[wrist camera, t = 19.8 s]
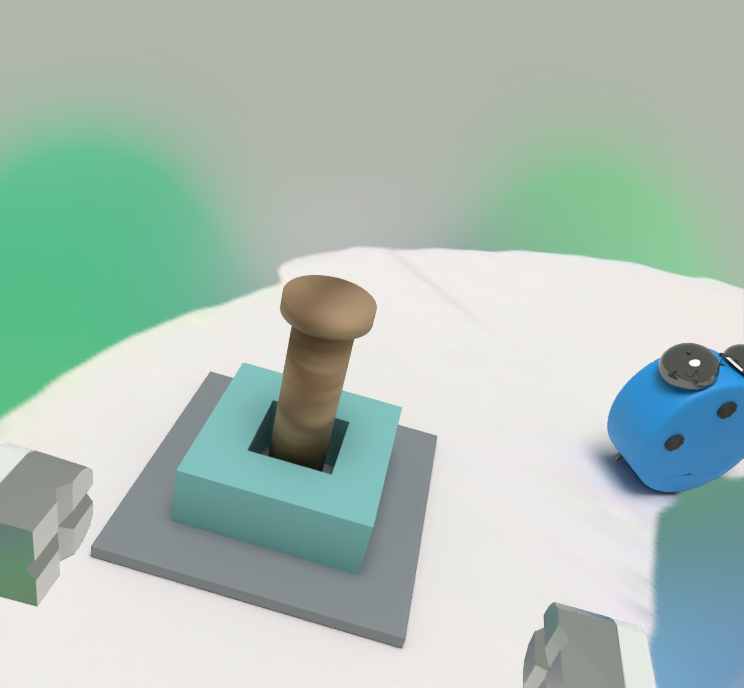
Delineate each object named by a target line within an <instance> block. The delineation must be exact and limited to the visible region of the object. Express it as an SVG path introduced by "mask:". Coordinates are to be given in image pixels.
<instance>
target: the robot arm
mask: <svg viewBox="0 0 744 688" xmlns="http://www.w3.org/2000/svg"><path fill="white" fill-rule="evenodd" d="M92 485H93V473H92V469H90V468H88V467H85V466H82V465H79V464H76V463H73V462H70V461H66V460H63V459H60V458H57V457H54V456H51V455H48V454H45V453H41V452H38V451H34V450H31V449H28V448H24V447H21V446H18V445H15V444H12V443H8V442H7V443H5V444H3V445H1V446H0V597H3V598H7V599H11V600H15V601H18V602H22V603H26V604H30V605H33V606H38V605H39V604H40V602H41V601H42V599H43V598H44V597H45V595H46V594H47V592H48V591H49V589H50V588H51V587H52V585H53V584H54V582H55V581H56V580H57V578H58V577H59V575H60V568H59V562H60V561H62V560H64V559H66V558H68V557H70V556H72V555H74V554H75V552H76V551H77V549H78V548H79V546H80V545H81V543H82V542H83V540H84V538H85V535H86V533H87V531H88V529H89V526H90V523H91V519H92V514H93V502H92V500H91V499H90V497H89V496H88V495H87V491H88V490H89V489H90V487H91V486H92ZM523 688H656V683H655V678H654V672H653V667H652V662H651V657H650V651H649V646H648V641H647V636H646V632H645V631H644V629H643V628H642V627H640V626H637V625H633V624H630V623H626V622H623V621H619V620H616V619H610V618H609V617H606V616H603V615H599V614H595V613H592V612H588V611H585V610H581V609H577V608H574V607H570V606H567V605H563V604H559V603H556V602H553V603H552V604H551V605H550V606H549V607H548V609H547V610H546V612H545V614H544V628H542V629H540V630H537V631H535V632H534V634H533V636H532V638H531V640H530V642H529V645H528V648H527V652H526V656H525V660H524V669H523Z"/></svg>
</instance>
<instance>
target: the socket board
mask: <svg viewBox="0 0 744 688" xmlns="http://www.w3.org/2000/svg"><path fill="white" fill-rule="evenodd" d="M282 377H283V374H282V373H279V372H275V371H272V370H268V369H265V368H261V367H257V366H254V365H250V364H247V363H243V364H242V365H241V367H240V368H239V370H238V372H237V373H236V375H235V376H234V378H231V377H228V376H224V375H221V374H217V373H214V372H210V373H209V374H208V376H207V377H206V379H205V380H204V382H203V383H202V385H201V386H200V388H199V389H198V390H197V392H196V393H195V395H194V396H193V398H192V399H191V401H190V402H189V404H188V405H187V407H186V408H185V410H184V411H183V412H182V414H181V415H180V417H179V418H178V420H177V421H176V423H175V424H174V426H173V427H172V429H171V430H170V431H169V433H168V434H167V436H166V437H165V439H164V440H163V442H162V443H161V445H160V446H159V448H158V449H157V451H156V452H155V453H154V455H153V456H152V458H151V459H150V461H149V462H148V464H147V465H146V467H145V468H144V470H143V471H142V472H141V474H140V475H139V477H138V478H137V480H136V481H135V483H134V484H133V486H132V487H131V489H130V490H129V492H128V493H127V494H126V496H125V497H124V499H123V500H122V502H121V503H120V505H119V506H118V508H117V509H116V511H115V512H114V513H113V515H112V516H111V518H110V519H109V521H108V522H107V524H106V525H105V527H104V528H103V530H102V531H101V533H100V534H99V535H98V537H97V538H96V540H95V541H94V543H93V544H92V546H91V556H92V557H95V558H99V559H102V560H106V561H109V562H112V563H116V564H119V565H122V566H126V567H129V568H133V569H136V570H139V571H143V572H146V573H149V574H153V575H156V576H160V577H163V578H166V579H170V580H173V581H176V582H180V583H183V584H187V585H190V586H193V587H197V588H200V589H204V590H207V591H210V592H214V593H217V594H220V595H224V596H227V597H231V598H234V599H237V600H241V601H244V602H247V603H251V604H254V605H258V606H261V607H264V608H268V609H271V610H274V611H278V612H281V613H285V614H288V615H291V616H295V617H298V618H302V619H305V620H308V621H312V622H315V623H318V624H322V625H325V626H329V627H332V628H335V629H339V630H342V631H345V632H349V633H352V634H356V635H359V636H362V637H366V638H369V639H372V640H376V641H379V642H383V643H386V644H389V645H393V646H396V647H400V648H402V646H403V644H404V641H405V637H406V631H407V624H408V618H409V612H410V605H411V599H412V593H413V586H414V580H415V574H416V567H417V561H418V555H419V548H420V542H421V536H422V529H423V523H424V517H425V510H426V504H427V498H428V491H429V485H430V479H431V472H432V466H433V460H434V453H435V447H436V441H437V436H436V435H432V434H429V433H425V432H422V431H418V430H415V429H411V428H408V427H404V426H401V425H398V422H399V418H400V414H401V410H402V407H399V406H395V405H392V404H388V403H385V402H381V401H378V400H374V399H371V398H367V397H364V396H360V395H357V394H353V393H349V392H346V391H342V392H341V396H340V400H339V404H338V409H337V413H336V417H335V421H334V425H333V430H332V434H331V438H330V442H329V446H328V450H327V455H326V459H325V463H324V467H323V471H322V472H321V471H317V470H314V469H310V468H307V467H303V466H300V465H296V464H293V463H289V462H286V461H282V460H279V459H275V458H272V457H268V454H269V449H270V443H271V438H272V432H273V427H274V421H275V416H276V410H277V405H278V399H279V394H280V388H281V383H282Z"/></svg>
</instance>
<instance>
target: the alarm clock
mask: <svg viewBox="0 0 744 688" xmlns="http://www.w3.org/2000/svg"><path fill="white" fill-rule="evenodd" d="M725 357H730V358H731V359H732V360H733V361H734V362H735V363H737V364H738V365H739V366H740V367H741V368H742V369H743V371H742V372H741V371H740V370H739V369H738V368H736V367H735V366H734V365H733V364H732V363H731V362H730V361H729V360H728V359H726V358H725ZM607 429H608V434H609V437H610V439H611V441H612V443H613V444H614V446H615V447H616V448H617V450H618V451H619V454H618V455H617V456H616V457H615V459H616V460H617V461H618V460H619V459H621V458H622V457H624V459H625V460H626V461H627V462H628V464H629V465H630V466H631V468H632V469H633V470H634V471H635V473H636V474H637V475H638V477H639V478H640V479H641V480H642V482H643V483H644V484H646V485H647V486H648V487H650V488H652V489H654V490H658V491H662V492H680V491H685V490H689V489H692V488H696V487H699V486H701V485H704V484H706V483H708V482H710V481H712V480H714V479H716V478H718V477H720V476H721V475H723V474H724V473H726V472H727V471H729V470H730V469H731V468H733V467H734V466H735V465H736V464H738V463H739V462H740V461H741V460H742V459H743V458H744V344H738V345H733V346H731V347H729V348H727V349H726V350H725V351H724V353H718V352H716V351H714V350H711V349H708V348H706V347H704V346H702V345H699V344H695V343H682V344H678V345H675V346H672V347H671V348H669V349H668V350H666V351H665V352H664V353H663V355H662V356H661V358H659V359H657V360H655V361H653V362H652V363H650V364H649V365H647V366H646V367H644V368H643V369H642V370H640V371H639V372H638V373H637V374H636V375H635V376H633V377H632V378H631V379H630V380H629V381H628V382H627V384H626V385H625V386H624V387H623V388H622V390H621V391H620V392H619V394H618V395H617V397H616V399H615V400H614V402H613V404H612V407H611V409H610V412H609V416H608V423H607Z"/></svg>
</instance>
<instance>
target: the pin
mask: <svg viewBox="0 0 744 688" xmlns="http://www.w3.org/2000/svg"><path fill="white" fill-rule="evenodd" d="M376 309H377V305H376V302H375V300H374V299H373V297H372V296H371V295H370V294H369V293H368V292H367V291H365V290H364V289H363V288H361V287H359V286H357V285H356V284H353V283H351V282H349V281H346V280H343V279H340V278H335V277H330V276H323V275H309V276H302V277H298V278H295V279H293V280H291V281H289V282H288V283H287V284H286V285H285V286H284V288H283V293H282V299H281V305H280V311H281V314H282V316H283V317H284V319H285V320H286V321H287V322H288V323H289V324H290V325H292V328H291V333H290V339H289V344H288V350H287V355H286V361H285V366H284V372H283V377H282V383H281V388H280V394H279V399H278V405H277V410H276V416H275V421H274V427H273V432H272V438H271V443H270V449H269V454H268V457H272V458H275V459H279V460H282V461H286V462H289V463H293V464H296V465H300V466H303V467H307V468H310V469H314V470H317V471H321V472H322V471H323V467H324V463H325V459H326V455H327V450H328V446H329V442H330V438H331V434H332V430H333V425H334V421H335V417H336V413H337V409H338V404H339V400H340V396H341V392H342V388H343V384H344V379H345V375H346V371H347V367H348V363H349V359H350V354H351V350H352V346H353V342H354V339H356V338H359V337H362V336H364V335H365V334H367V333H368V332H369V331H370V330H371V328H372V326H373V322H374V318H375V314H376Z"/></svg>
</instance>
